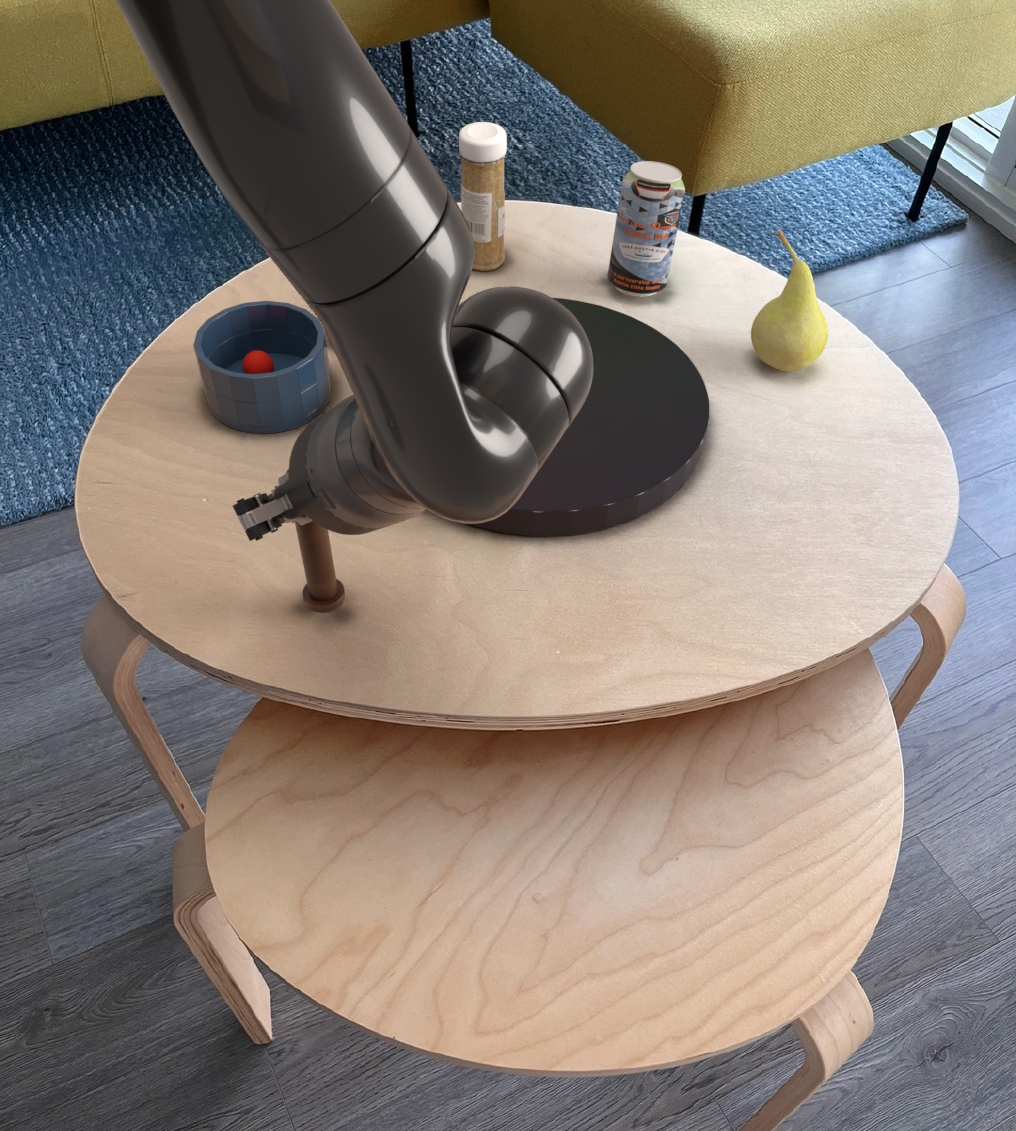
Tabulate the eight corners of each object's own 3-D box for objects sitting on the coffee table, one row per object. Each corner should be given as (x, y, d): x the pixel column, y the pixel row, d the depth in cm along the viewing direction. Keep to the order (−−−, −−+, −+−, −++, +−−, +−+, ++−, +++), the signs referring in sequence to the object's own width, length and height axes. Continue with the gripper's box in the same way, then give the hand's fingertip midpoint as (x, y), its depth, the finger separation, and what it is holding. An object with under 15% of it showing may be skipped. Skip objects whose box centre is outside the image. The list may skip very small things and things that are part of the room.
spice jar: (513, 261, 117) (516, 131, 106) (481, 277, 115) (481, 147, 104) (483, 243, 119) (483, 114, 108) (451, 259, 117) (448, 130, 106)
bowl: (284, 449, 98) (274, 393, 93) (181, 407, 101) (166, 351, 96) (355, 380, 104) (349, 324, 99) (256, 343, 107) (245, 287, 103)
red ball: (258, 388, 103) (233, 376, 101) (264, 359, 104) (239, 347, 102) (277, 385, 102) (252, 373, 99) (282, 355, 102) (258, 343, 100)
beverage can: (600, 299, 113) (610, 184, 103) (617, 261, 117) (629, 147, 108) (661, 311, 112) (677, 196, 102) (676, 272, 116) (693, 158, 107)
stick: (330, 619, 84) (307, 494, 75) (295, 604, 85) (268, 479, 76) (353, 591, 86) (334, 466, 77) (319, 577, 87) (295, 452, 78)
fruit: (784, 396, 104) (815, 280, 94) (726, 357, 107) (749, 241, 98) (832, 368, 106) (866, 253, 97) (773, 331, 110) (801, 216, 101)
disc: (565, 287, 114) (567, 260, 112) (774, 446, 99) (781, 419, 97) (308, 394, 103) (304, 366, 100) (501, 591, 88) (501, 565, 86)
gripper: (443, 359, 67) (354, 416, 82) (233, 447, 61) (181, 490, 77) (494, 476, 68) (398, 510, 84) (295, 572, 63) (231, 589, 79)
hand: (294, 500), depth 80 cm, fingers closed on stick, 2 cm apart
